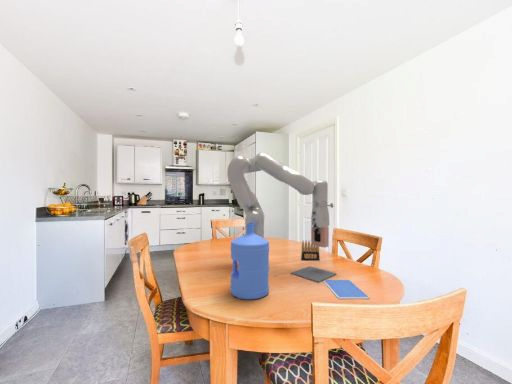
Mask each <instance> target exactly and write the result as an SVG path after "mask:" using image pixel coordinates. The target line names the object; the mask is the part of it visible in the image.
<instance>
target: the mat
mask: <svg viewBox="0 0 512 384" xmlns="http://www.w3.org/2000/svg"><path fill="white" fill-rule="evenodd" d="M290 274H291V275H293V276H297V277H300V278H303V279H306V280H309V281H312V282H315V283H321V282H323V281H324V280H329V279H331V278H332V277H335V276H337V273H336V272H333V271H329V270H325V269H322V268H319V267H314V266H311V265H308V266H306V267H303V268H301V269H296V270H294V271H292V272H290Z"/></svg>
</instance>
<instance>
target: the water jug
mask: <svg viewBox="0 0 512 384" xmlns="http://www.w3.org/2000/svg"><path fill="white" fill-rule="evenodd" d="M246 225H247V227H246V232H245V233H244V234H242V235H240V236H238V237H236V238H234V239H232V240H231V242H230V259H231V260H232V272H231V274H230V289H229V290H230V294H231V295H232V296H234V297H235V298H238V299H240V300H250V301H251V300H257V299H262V298H264V297H265V296H267V295H268V294H269V291H270V289H269V287H270V285H269V276H270V275H269V273H270V265H269V263H270V261H269V259H270V255H269V253H270V245H269V240H268V239H266V238H265V237H264V238H262V237H260V236H258V235H256V234H254V223H246ZM238 266H239V269H238Z"/></svg>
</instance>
